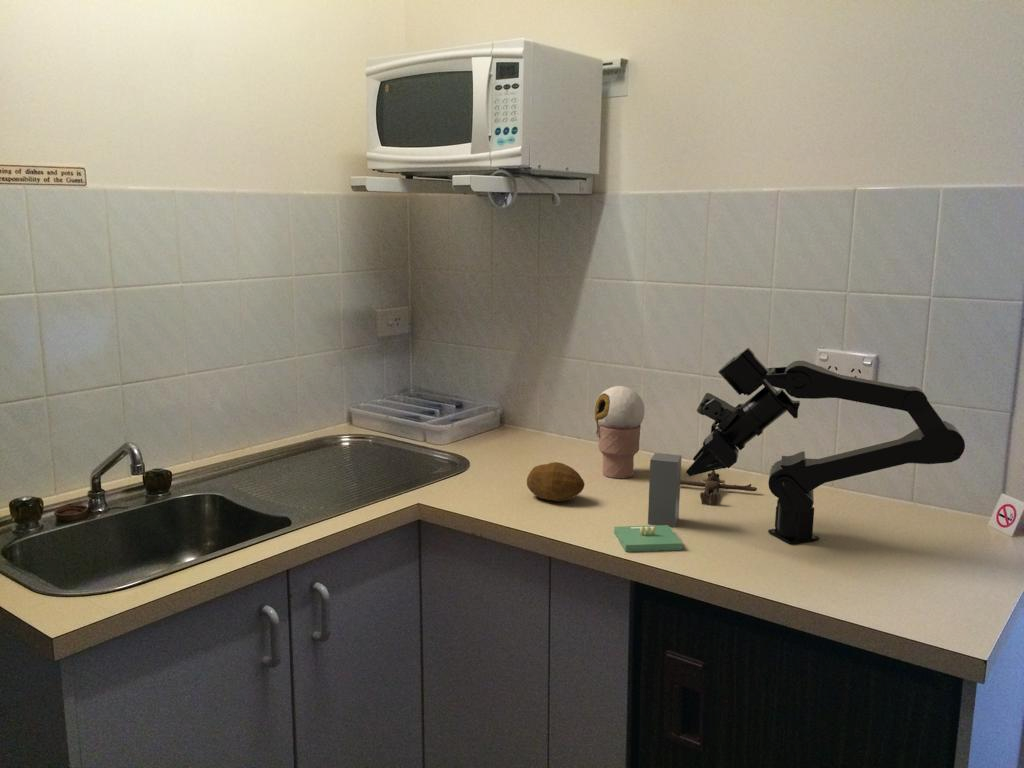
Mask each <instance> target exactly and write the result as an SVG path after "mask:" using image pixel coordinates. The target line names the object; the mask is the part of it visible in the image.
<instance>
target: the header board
mask: <svg viewBox="0 0 1024 768" xmlns="http://www.w3.org/2000/svg"><path fill="white" fill-rule="evenodd" d="M613 534H614V535H615V537H616V538H618V539H617V540H618V542H619V543H620V545H621V547H622V549H623V550H624V552H626V553H628V552H629V553H630V552H658V550H664V551H683V542H682V541H681V539H679V537H678V536H677V534H676V533H675V532H674V531H673V530H672V527H669V526H668V525H634V526H632V525H631V526H629V525H628V526H626V525H625V526H622V525H621V526H614V527H613Z"/></svg>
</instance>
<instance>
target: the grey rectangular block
mask: <svg viewBox="0 0 1024 768" xmlns="http://www.w3.org/2000/svg"><path fill="white" fill-rule="evenodd" d="M649 461H650V463H649V482H648V483H649V489H648V511H647V512H648V513H647V516H648V517H647V525H651V526H656V525H668V526H669V527H670V528H676V525H677V523H678V522H679V518H680V502H681V501H680V499H681V497H680V496H681V485H680V480H682V478H681V477H682V476H681V475H682V474H681V473H682V455H681V454H670V453H660V452H654V453H653V455H652V457H651V458H650V460H649Z"/></svg>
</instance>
